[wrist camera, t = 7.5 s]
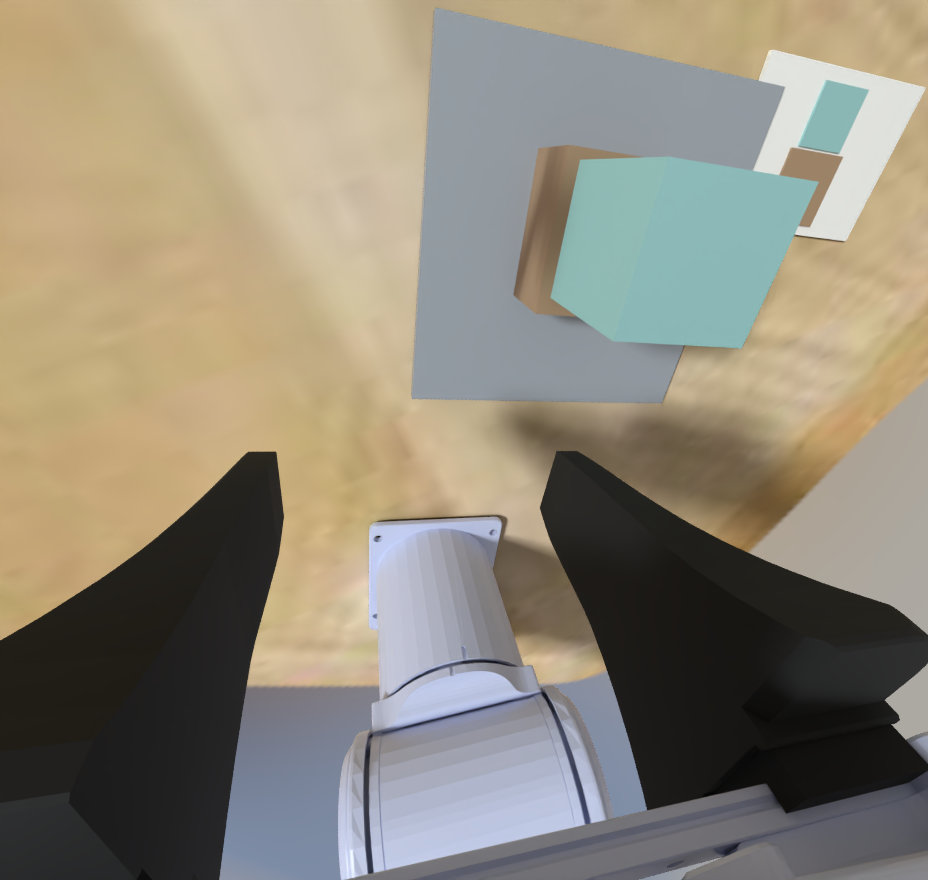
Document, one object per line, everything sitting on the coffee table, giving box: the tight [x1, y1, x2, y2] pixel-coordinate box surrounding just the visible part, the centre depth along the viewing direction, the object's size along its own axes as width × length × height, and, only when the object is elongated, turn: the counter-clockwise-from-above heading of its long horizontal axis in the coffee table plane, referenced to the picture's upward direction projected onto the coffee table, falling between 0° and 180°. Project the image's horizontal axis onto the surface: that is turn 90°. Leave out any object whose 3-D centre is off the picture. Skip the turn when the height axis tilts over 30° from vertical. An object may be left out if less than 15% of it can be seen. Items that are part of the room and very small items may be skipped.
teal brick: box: [551, 157, 819, 348], centre depth 14 cm, size 4×4×5 cm
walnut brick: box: [513, 145, 642, 317], centre depth 17 cm, size 6×6×3 cm
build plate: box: [411, 8, 785, 403], centre depth 19 cm, size 14×14×1 cm
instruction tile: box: [753, 50, 926, 241], centre depth 19 cm, size 6×8×1 cm
